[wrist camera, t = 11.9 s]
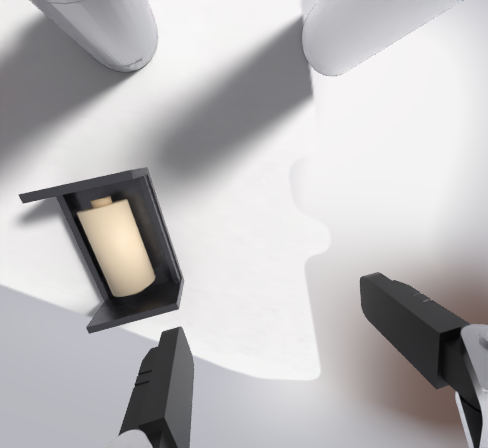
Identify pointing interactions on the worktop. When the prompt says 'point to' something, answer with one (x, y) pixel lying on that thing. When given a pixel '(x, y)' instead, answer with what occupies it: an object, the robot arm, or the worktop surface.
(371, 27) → the cylinder container
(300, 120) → the worktop surface
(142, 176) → the roll holder
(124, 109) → the worktop surface
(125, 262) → the cylinder
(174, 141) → the worktop surface
